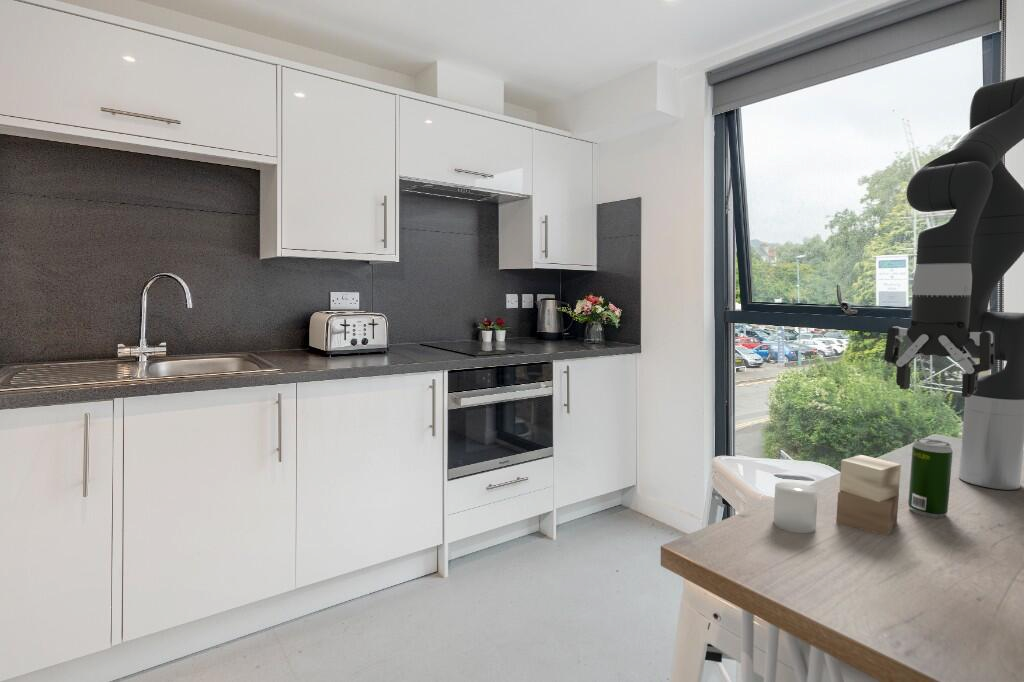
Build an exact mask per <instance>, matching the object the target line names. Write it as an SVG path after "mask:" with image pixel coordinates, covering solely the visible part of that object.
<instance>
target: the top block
mask: <svg viewBox="0 0 1024 682" xmlns="http://www.w3.org/2000/svg"><path fill="white" fill-rule="evenodd" d="M840 461H841V463H840V475H839V476H840V479H839V492H840V491H844V492H847V493H850V494H854V495H857V496H860V497H864V498H867V499H870V500H874V501H877V502H881V501H884V500H886V499H889V498H892V497H895V496H898V495H899V496H900V483H901V481H900V480H901V471H902V470H901V467H902V464H901V463H897V462H893V461H888V460H885V459H882V458H881V459H880V458H876V457H873V456H869V455H868V456H867V455H863V454H858V455H854V456H852V457H847V458H844V459H841V460H840Z"/></svg>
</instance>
